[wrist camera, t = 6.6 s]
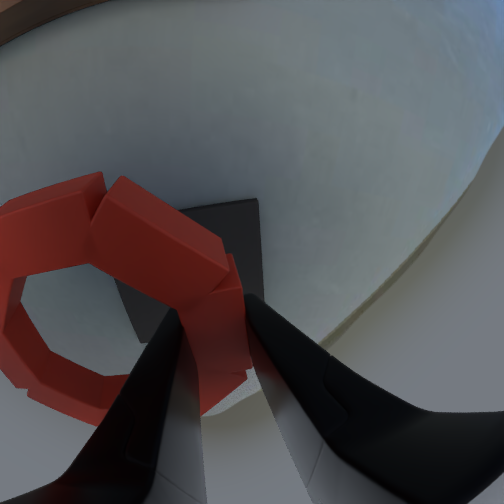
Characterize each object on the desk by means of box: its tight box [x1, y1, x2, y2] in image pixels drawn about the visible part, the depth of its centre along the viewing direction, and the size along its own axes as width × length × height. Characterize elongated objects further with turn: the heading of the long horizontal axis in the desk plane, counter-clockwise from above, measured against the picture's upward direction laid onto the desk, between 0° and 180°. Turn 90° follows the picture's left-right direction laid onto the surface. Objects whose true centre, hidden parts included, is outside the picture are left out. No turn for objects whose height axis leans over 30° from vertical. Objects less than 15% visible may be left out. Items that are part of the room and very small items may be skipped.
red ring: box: [0, 172, 253, 426], centre depth 8 cm, size 9×9×2 cm
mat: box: [114, 198, 264, 343], centre depth 20 cm, size 10×10×1 cm
